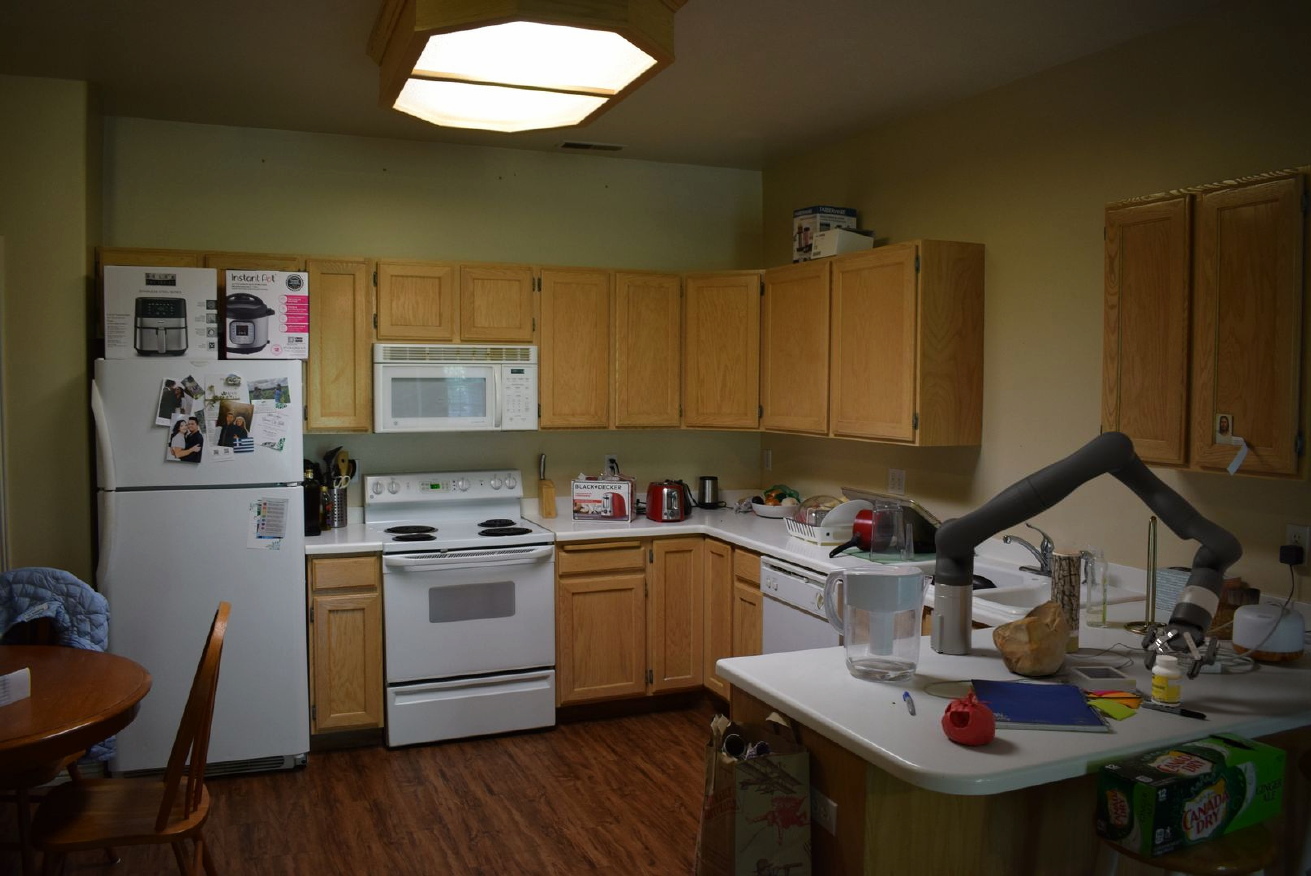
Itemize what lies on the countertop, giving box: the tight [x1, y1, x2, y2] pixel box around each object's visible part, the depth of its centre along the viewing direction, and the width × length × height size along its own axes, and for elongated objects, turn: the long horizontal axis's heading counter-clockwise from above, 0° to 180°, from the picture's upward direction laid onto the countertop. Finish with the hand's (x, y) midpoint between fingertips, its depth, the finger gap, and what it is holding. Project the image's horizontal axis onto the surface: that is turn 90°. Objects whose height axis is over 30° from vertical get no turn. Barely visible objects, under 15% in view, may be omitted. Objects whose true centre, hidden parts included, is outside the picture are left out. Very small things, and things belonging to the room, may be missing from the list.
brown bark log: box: [1050, 549, 1082, 654], centre depth 246 cm, size 7×7×25 cm
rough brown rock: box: [992, 599, 1070, 677], centre depth 232 cm, size 23×17×15 cm
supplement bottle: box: [1150, 654, 1182, 708], centre depth 204 cm, size 5×5×10 cm
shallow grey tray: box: [1059, 665, 1142, 698], centre depth 214 cm, size 12×12×4 cm
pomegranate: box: [940, 690, 996, 747], centre depth 181 cm, size 10×10×9 cm
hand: (1168, 672), depth 204 cm, fingers open, 8 cm apart
